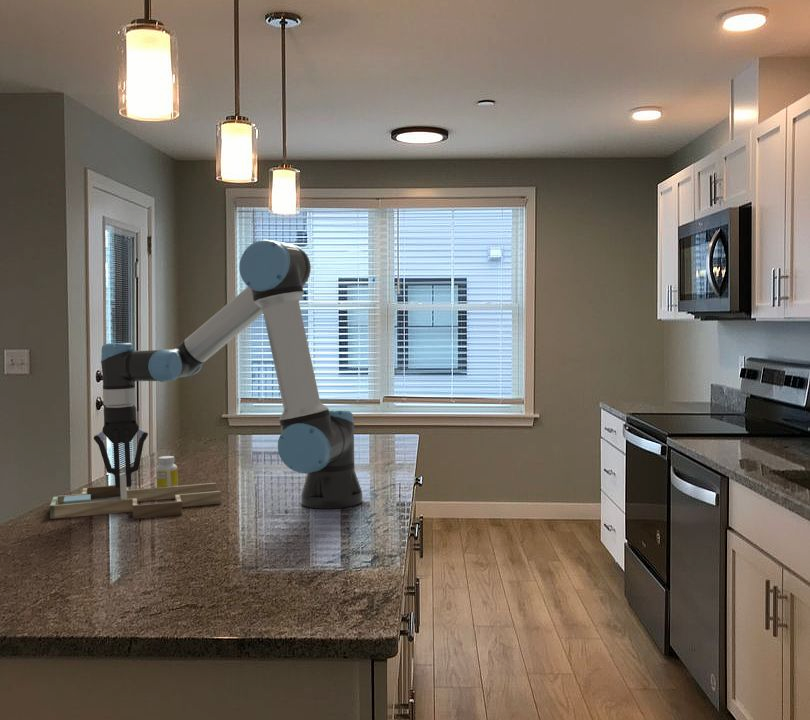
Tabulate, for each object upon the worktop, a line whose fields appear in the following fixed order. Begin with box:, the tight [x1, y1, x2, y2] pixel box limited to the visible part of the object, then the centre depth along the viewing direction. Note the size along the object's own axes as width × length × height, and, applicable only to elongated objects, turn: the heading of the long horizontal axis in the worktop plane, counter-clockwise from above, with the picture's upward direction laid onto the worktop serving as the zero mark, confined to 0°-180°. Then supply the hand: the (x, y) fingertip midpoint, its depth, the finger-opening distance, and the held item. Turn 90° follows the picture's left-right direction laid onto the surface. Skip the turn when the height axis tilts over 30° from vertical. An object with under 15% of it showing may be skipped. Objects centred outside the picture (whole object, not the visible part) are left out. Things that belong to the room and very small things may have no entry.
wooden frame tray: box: [49, 482, 222, 520], centre depth 207 cm, size 28×40×3 cm
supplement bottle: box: [156, 455, 179, 488], centre depth 220 cm, size 5×5×10 cm
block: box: [64, 494, 91, 504], centre depth 202 cm, size 6×6×4 cm
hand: (124, 500), depth 205 cm, fingers closed
